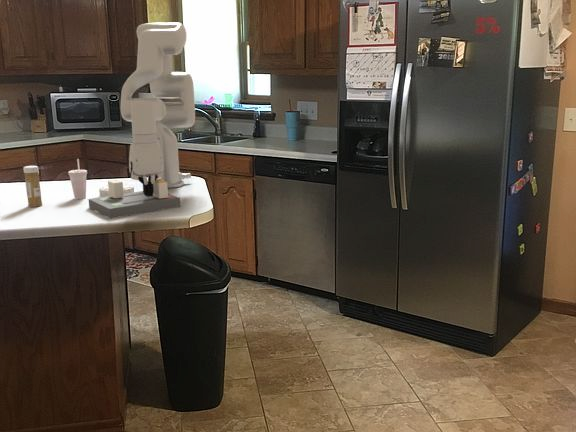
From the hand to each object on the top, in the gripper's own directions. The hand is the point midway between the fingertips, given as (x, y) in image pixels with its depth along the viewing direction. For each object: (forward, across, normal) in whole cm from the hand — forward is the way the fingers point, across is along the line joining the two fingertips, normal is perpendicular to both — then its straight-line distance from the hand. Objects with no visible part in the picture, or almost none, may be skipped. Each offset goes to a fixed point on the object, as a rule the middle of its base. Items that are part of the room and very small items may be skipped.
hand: (148, 195), depth 201 cm
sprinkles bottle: (+4, +28, -28) cm, 41 cm away
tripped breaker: (+1, -4, 0) cm, 4 cm away
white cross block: (+4, 0, -27) cm, 27 cm away
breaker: (+1, +7, -10) cm, 12 cm away
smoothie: (+4, +12, -31) cm, 34 cm away
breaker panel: (+4, +3, -5) cm, 7 cm away
